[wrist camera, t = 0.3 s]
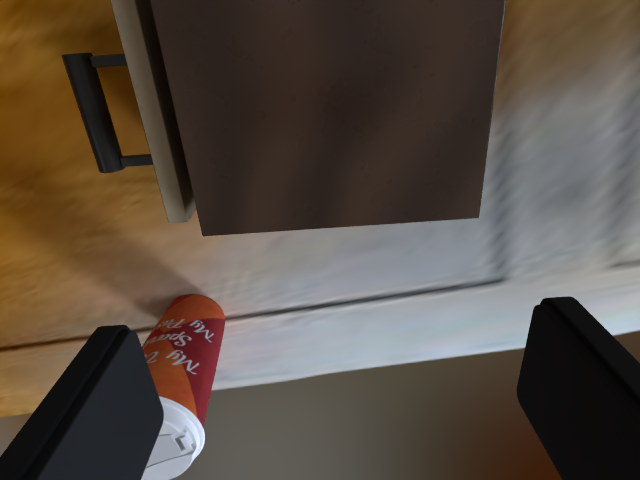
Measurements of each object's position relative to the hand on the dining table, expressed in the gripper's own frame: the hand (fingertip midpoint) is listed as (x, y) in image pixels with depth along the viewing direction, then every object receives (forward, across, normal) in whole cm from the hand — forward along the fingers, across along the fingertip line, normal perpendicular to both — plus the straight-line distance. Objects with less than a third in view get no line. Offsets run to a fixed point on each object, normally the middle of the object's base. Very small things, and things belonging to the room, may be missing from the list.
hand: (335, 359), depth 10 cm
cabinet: (+24, -1, -4) cm, 24 cm away
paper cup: (+24, +13, +16) cm, 32 cm away
